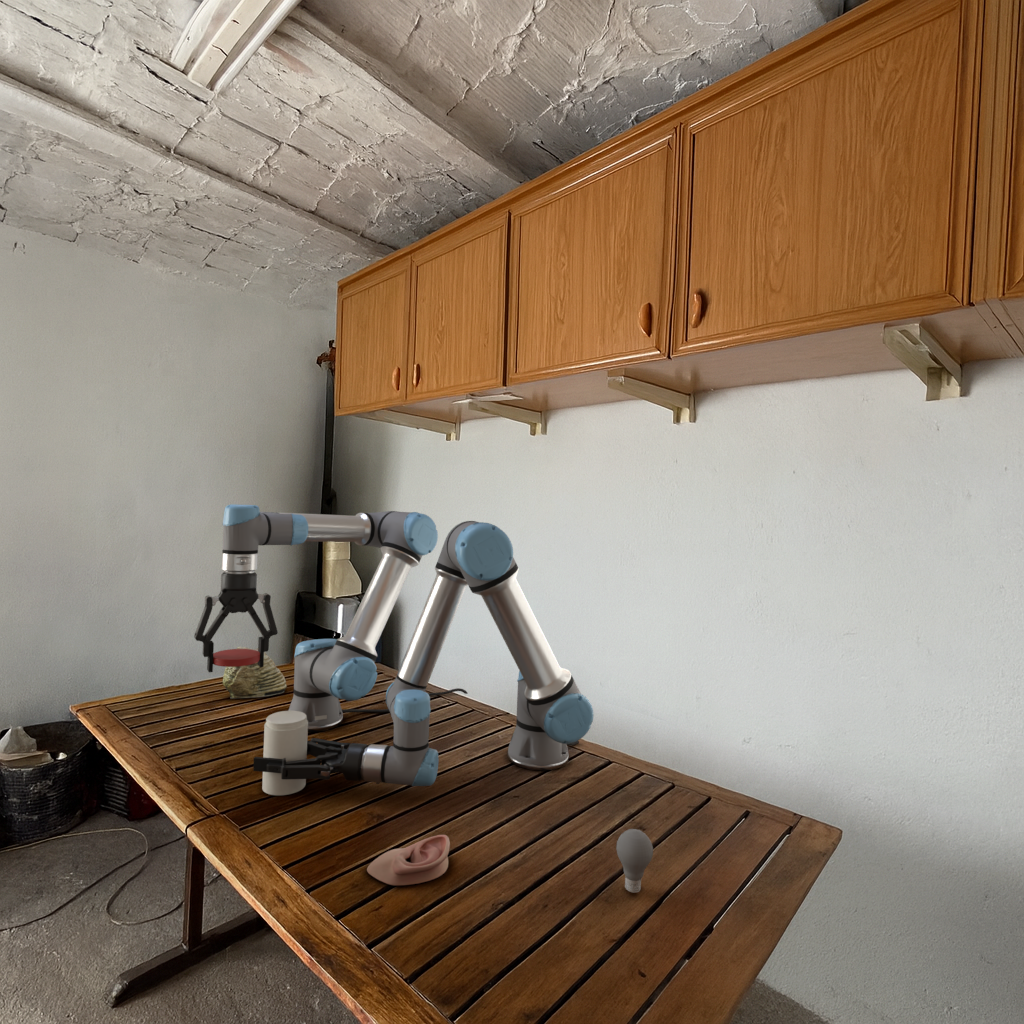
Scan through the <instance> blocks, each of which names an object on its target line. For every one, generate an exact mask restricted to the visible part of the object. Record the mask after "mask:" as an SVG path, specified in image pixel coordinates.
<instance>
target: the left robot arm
mask: <svg viewBox="0 0 1024 1024" xmlns="http://www.w3.org/2000/svg"><path fill="white" fill-rule="evenodd" d="M438 538H439V534H438V530H437V525H436V523H435V521H434V520H433V519H432V518H431V517H430V516H429V515H427V514H426V513H422V512H421V513H420V512H418V511H412V512H411V511H397V510H387V511H377V512H358V513H356V514H355V515H344V514H324V513H323V514H322V513H302V512H301V513H299V512H277V511H276V512H273V511H261V510H260V507H259V505H256V504H236V503H232V504H231V503H230V504H228V505H226V506H225V507H224V512H223V519H222V554H221V571H223V572H222V573H220V574H221V575H220V592H219V594H218V595H206V596H205V597H204V607H203V610H202V613H201V615H200V619H199V622H198V624H197V628H196V630H195V632H194V635H193V638H194V640H196V642H202V656H203V657H204V658H207V663H206V664H207V665H206V670H207V672H208V673H213V672H214V664H213V653H214V649H215V647H214V646H215V643H214V642H213V640H212V639H213V637H214V636H215V635H216V633H217V632H218V630H219V629H220V627H221V626H222V625H223V622H224V621H225V619H226V618H227V617H228V616H229V614H236V613H241V614H244V613H248V614H249V616H250V618H251V620H252V621H253V623H254V625H255V626H256V628H257V629H258V631H259V632H260V634H261V636H258V643H257V647H258V651H259V652H260V660H259V661H258V666H259V667H263V666H264V652H265V653H266V652H269V647H270V638H271V637H273V636H277V635H278V633H279V632H278V628H277V625H276V621H275V617H274V614H273V613H274V612H273V610H272V606H271V598H272V597H271V595H270V594H269V593H268V592H265V593H258V591H257V584H258V583H257V581H258V574H257V572H256V571H257V570H258V557H259V556H258V553H259V546H291V547H292V546H294V545H302V544H304V543H305V542H316V543H317V542H318V543H319V542H323V543H328V542H329V543H354V544H355V545H357V546H367V547H373V548H378V549H379V550H380V551H381V554H382V557H381V559H380V561H379V563H378V565H377V567H376V570H375V571H374V574H373V575H372V578H371V580H370V582H369V585H368V587H367V589H366V591H365V593H364V594H363V597H362V599H361V602H359V603H360V604H359V606H358V607H357V610H356V612H355V614H354V617H353V618H352V620H351V622H350V625H349V627H348V629H347V631H346V633H345V635H344V636H341V637H339V638H318V639H308V640H304V641H300V642H299V643H297V644H296V646H295V650H294V655H293V657H294V672H293V673H294V674H293V695H292V696H293V697H292V699H291V702H290V704H289V708H288V710H287V711H299V712H303V713H305V714H306V717H307V720H308V733H316V732H325V731H329V730H332V729H335V728H337V727H339V726H340V725H342V723H343V722H344V714H343V713H378V714H379V713H380V714H382V713H390V711H389V709H388V708H386V709H384V708H383V709H374V708H373V709H370V708H369V709H367V708H365V709H361V708H360V709H359V708H358V709H357V708H348V709H347V708H345V709H343V708H342V706H341V702H340V700H344V701H349V702H353V701H354V702H355V701H357V700H359V699H361V698H364V697H365V696H367V695H368V694H369V693H370V692H371V690H372V689H373V688H374V685H375V684H376V682H377V678H378V672H377V670H378V669H377V664H375V662H376V661H377V659H378V653H377V651H376V646H377V644H378V642H379V640H380V638H381V636H382V633H383V631H384V629H385V627H386V624H387V622H388V620H389V618H390V615H391V614H392V611H393V609H394V606H395V605H396V603H397V600H398V597H399V596H400V594H401V591H402V589H403V587H404V585H405V582H406V580H407V579H408V575H409V573H410V571H411V569H412V568H414V567H417V566H419V564H420V562H421V560H422V558H423V557H424V556H427V555H429V554H430V553H432V552H433V551H434V550H435V548H436V546H437V543H438ZM258 600H259V602H260V603H261V604H262V608H263V612H264V614H265V615H264V616H265V618H266V623H267V627H268V630H267V628H266V626H265V625H264V623H263V622H262V620H261V618H260V616H259V615H258V613H257V612H256V610H255V608H254V604H255V603H256V602H257V601H258ZM217 602H219V603H220V604H221V606H222V607H221V608H220V610H219V611H218V614H217V615H216V617H215V618H214V620H213V622H212V623H211V625H210V626H209V628H208V629H207V631H206V628H207V624H208V622H209V619H210V617H211V613H212V610H213V607H215V606H216V604H217ZM205 631H206V632H205ZM453 692H454V693H455V692H461V693H463V694H464V695H467V694H468V691H467V690H465V689H463V688H460V687H459V688H457V687H456V688H452V689H448V690H445V691H438V692H427V693H428V694H429V696H430V697H433V696H442V695H444V696H445V695H447V694H451V693H453Z"/></svg>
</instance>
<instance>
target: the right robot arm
mask: <svg viewBox="0 0 1024 1024" xmlns="http://www.w3.org/2000/svg"><path fill="white" fill-rule="evenodd" d="M519 570H520V568H519V566H518V564H517V562H516V560H515V557H514V547H513V544H512V541H511V539H510V537H509V536H508V534H507V533H506V532H505V531H503V530H502V529H501V528H500V527H498V526H497V525H495V524H493V523H490V522H484V521H483V522H479V521H476V520H466V521H461V522H460V523H458V524H456V525H455V526H453V528H451V529H450V531H449V532H448V533H447V535H446V537H445V540H444V542H443V545H442V548H441V550H440V553H439V556H438V559H437V562H436V564H435V566H434V571H435V573H436V576H435V578H434V580H433V583H432V585H431V588H430V591H429V593H428V596H427V598H426V601H425V603H424V606H423V608H422V611H421V613H420V616H419V618H418V620H417V624H416V625H415V629H414V631H413V633H412V636H411V639H410V641H409V644H408V646H407V649H406V651H405V653H404V657H403V659H402V662H401V663H400V666H399V669H398V672H397V674H396V677H395V679H394V681H393V682H391V684H390V685H388V688H387V690H386V693H385V704H386V707H387V709H389V711H390V712H389V714H390V716H391V719H392V722H393V742H392V745H387V744H376V743H375V744H374V743H371V744H369V745H368V744H367V743H357V742H352V743H351V742H339V741H333V740H328V739H322V738H317V737H312V738H310V740H307V756H312V757H313V758H307V759H304V760H295V761H286V758H284V759H277V758H264V757H262V756H255V757H253V762H252V763H253V765H252V770H253V772H260V773H263V772H272V773H281V779H306V780H313V779H314V780H324V781H328V780H330V779H331V774H337V773H342V776H343V779H345V780H346V781H351V782H363V780H364V782H367V783H376V785H379V784H390V785H391V784H394V785H403V786H411V787H430V786H433V785H434V783H435V782H436V779H437V776H438V771H439V761H440V760H439V751H438V750H437V749H435V748H432V747H430V744H429V741H430V740H429V736H430V720H431V718H430V716H431V712H432V708H431V696H429V694H428V693H429V692H426V690H427V687H428V684H429V681H430V679H431V677H432V674H433V672H434V669H435V667H436V664H437V661H438V659H439V657H440V655H441V652H442V649H443V646H444V644H445V642H446V639H447V636H448V634H449V631H450V628H451V627H452V623H453V621H454V619H455V616H456V613H457V611H458V608H459V606H460V603H461V601H462V598H463V596H464V593H465V592H466V589H467V587H469V590H470V591H471V593H472V594H475V595H478V596H481V598H482V600H483V601H484V605H485V606H486V608H487V610H488V612H489V614H490V616H491V617H492V619H493V621H494V623H495V625H496V627H497V629H498V631H499V634H500V635H501V637H502V640H503V641H504V642H505V645H506V647H507V649H508V651H509V653H510V655H511V656H512V658H513V661H514V663H515V665H516V667H517V668H518V670H519V671H518V677H517V680H516V681H517V696H516V721H515V722H516V723H515V728H514V731H513V733H512V736H511V738H510V742H509V745H508V748H507V759H508V761H509V762H510V763H512V764H513V765H515V766H517V767H520V768H523V769H526V770H531V771H551V770H558V769H561V768H563V767H565V766H566V765H567V764H568V763H569V755H570V754H569V748H568V746H569V747H571V746H576V745H578V744H580V740H581V739H582V738H584V737H585V736H586V735H587V734H588V732H589V731H590V730H591V727H592V723H594V722H593V721H594V716H595V713H594V708H593V706H592V703H591V702H590V699H589V698H587V696H586V695H584V694H582V692H581V691H580V688H579V687H578V685H577V683H576V681H575V679H574V677H573V675H572V673H571V671H570V670H569V669H567V668H564V667H561V666H560V664H559V662H558V660H557V657H556V656H555V654H554V651H553V650H552V647H551V645H550V644H549V641H548V639H547V638H546V636H545V634H544V631H543V629H542V628H541V626H540V624H539V622H538V619H537V618H536V616H535V614H534V612H533V610H532V607H531V605H530V604H529V602H528V600H527V597H526V596H525V594H524V591H523V590H522V587H521V585H520V583H519V581H518V580H517V576H518V573H519Z"/></svg>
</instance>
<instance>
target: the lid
mask: <svg viewBox="0 0 1024 1024" xmlns="http://www.w3.org/2000/svg"><path fill="white" fill-rule="evenodd" d="M252 649H253V648H250V649H237V648H229V649H223V650H218V651H216V652H213V666H217V667H225V668H226V667H237V666H246V665H251V664H254V663H257V662H258V661H259V660H260V652H259V651H256V650H252Z"/></svg>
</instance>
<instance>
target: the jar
mask: <svg viewBox="0 0 1024 1024" xmlns="http://www.w3.org/2000/svg"><path fill="white" fill-rule="evenodd" d="M263 728H264V730H263V753H262V755H263V757H264V758H277V759H284V758H286V761H295V760H304V759H308V755H307V741H308V737H309V736H308V734H309V732H308V720H307V717H306V714H305V713H303V712H299V711H288V710H282V711H277V712H274V713H272V714H269V715H268V716H267V717H266V719H265V723H264V725H263ZM261 782H262V783H261V785H262V786H261V790H262V791H263V792H264V793H265V794H268V795H269V796H270V795H271V796H287V795H292V794H295V793H298V792H300V791H302V790H303V789H304V788H305V787H306V785H307V779H281V773H272V772H262V781H261Z"/></svg>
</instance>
